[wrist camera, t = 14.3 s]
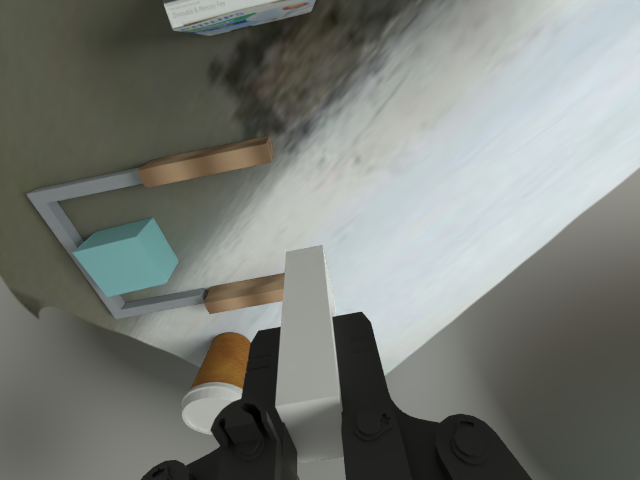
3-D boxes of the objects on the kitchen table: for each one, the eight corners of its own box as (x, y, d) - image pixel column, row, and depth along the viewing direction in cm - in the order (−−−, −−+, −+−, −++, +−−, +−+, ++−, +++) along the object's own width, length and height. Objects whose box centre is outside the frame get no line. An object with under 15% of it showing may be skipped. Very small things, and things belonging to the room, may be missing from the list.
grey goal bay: (144, 166, 37) (138, 170, 36) (207, 295, 48) (204, 302, 46) (35, 189, 38) (25, 194, 37) (120, 311, 48) (115, 319, 47)
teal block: (153, 216, 41) (136, 236, 37) (179, 260, 44) (166, 283, 40) (95, 231, 41) (72, 252, 37) (125, 273, 45) (107, 297, 41)
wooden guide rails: (269, 135, 36) (266, 143, 33) (307, 280, 47) (308, 296, 44) (150, 160, 37) (137, 170, 34) (215, 297, 48) (209, 314, 45)
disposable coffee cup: (190, 348, 53) (164, 420, 43) (224, 315, 50) (204, 385, 39) (238, 372, 57) (224, 444, 46) (272, 343, 53) (266, 413, 43)
